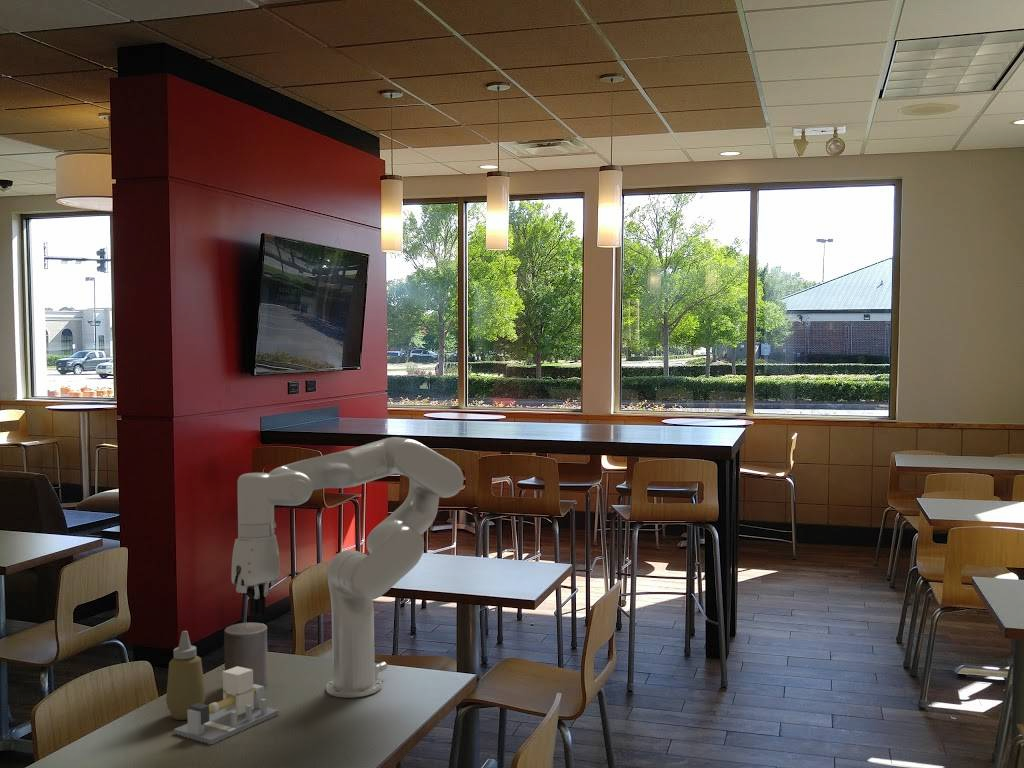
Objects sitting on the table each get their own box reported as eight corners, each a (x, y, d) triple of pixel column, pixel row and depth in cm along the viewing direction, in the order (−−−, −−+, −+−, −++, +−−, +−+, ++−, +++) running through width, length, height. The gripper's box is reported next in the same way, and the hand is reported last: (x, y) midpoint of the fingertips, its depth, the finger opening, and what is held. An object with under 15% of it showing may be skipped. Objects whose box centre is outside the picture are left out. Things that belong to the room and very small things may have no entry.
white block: (238, 704, 198) (237, 666, 198) (253, 708, 195) (252, 669, 195) (223, 710, 194) (222, 671, 194) (239, 715, 192) (238, 675, 192)
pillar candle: (215, 689, 213) (214, 624, 213) (248, 676, 222) (247, 614, 221) (245, 697, 208) (244, 631, 208) (277, 684, 217) (276, 620, 216)
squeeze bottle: (193, 724, 193) (191, 637, 192) (158, 721, 194) (156, 636, 194) (213, 709, 201) (211, 627, 200) (179, 707, 202) (177, 625, 202)
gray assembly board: (242, 705, 203) (242, 677, 203) (278, 714, 197) (278, 686, 197) (173, 733, 187) (173, 704, 187) (210, 744, 182) (210, 714, 182)
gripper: (269, 524, 207) (271, 605, 208) (216, 534, 195) (218, 621, 195) (294, 526, 204) (295, 610, 204) (241, 537, 191) (243, 626, 191)
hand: (257, 615), depth 199 cm, fingers closed
